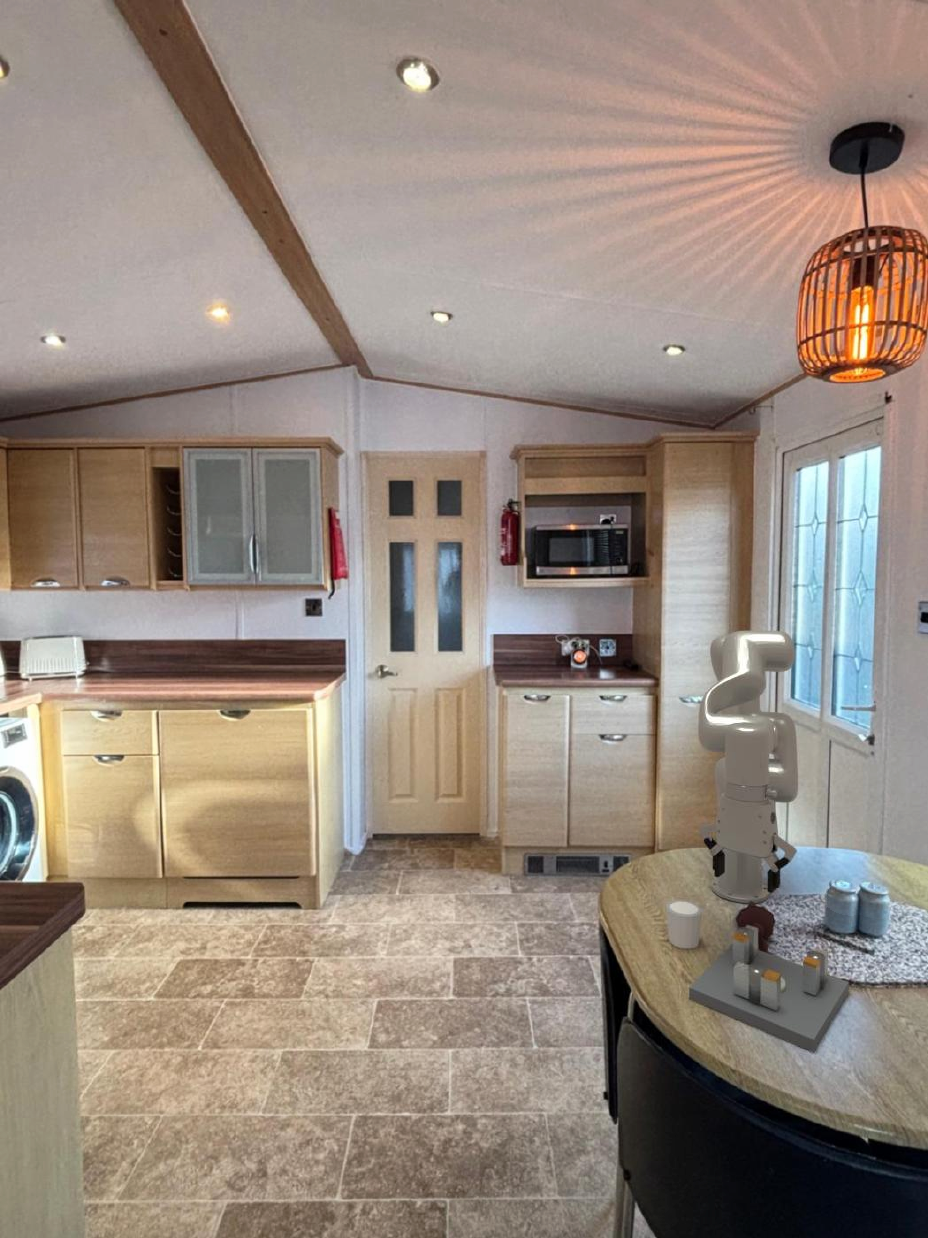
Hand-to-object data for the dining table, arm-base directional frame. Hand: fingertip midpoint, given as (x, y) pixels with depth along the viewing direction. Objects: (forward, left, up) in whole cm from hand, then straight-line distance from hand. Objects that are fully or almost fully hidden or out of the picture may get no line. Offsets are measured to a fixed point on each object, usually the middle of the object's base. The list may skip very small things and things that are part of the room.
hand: (745, 882), depth 125 cm
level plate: (+5, +6, -17) cm, 19 cm away
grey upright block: (0, 0, -15) cm, 15 cm away
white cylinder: (-2, -13, -17) cm, 21 cm away
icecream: (-13, -3, -17) cm, 22 cm away
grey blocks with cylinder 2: (0, +12, -15) cm, 19 cm away
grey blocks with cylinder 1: (+11, +6, -15) cm, 19 cm away
